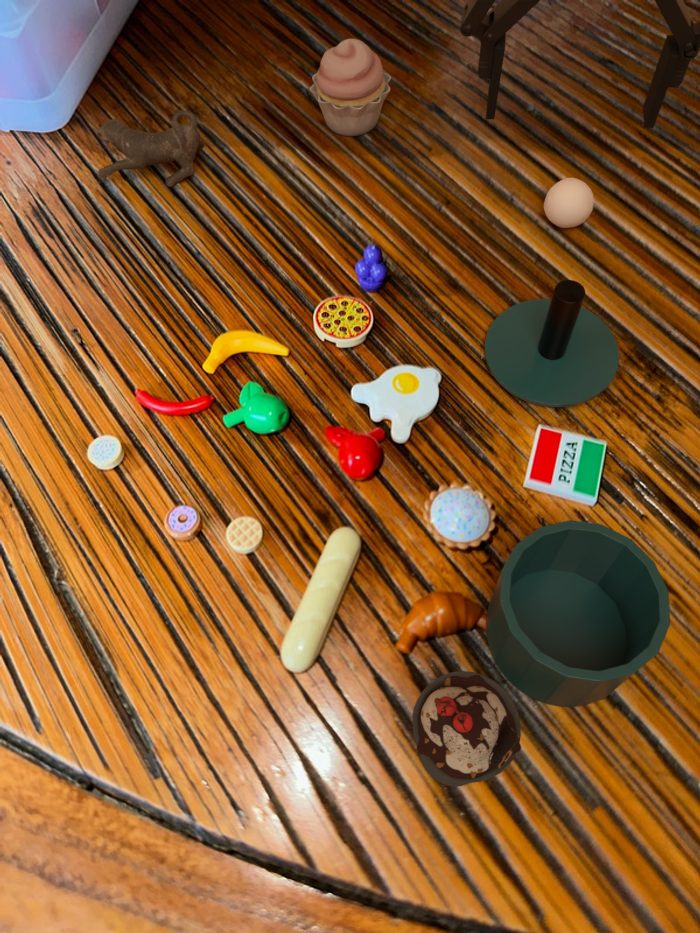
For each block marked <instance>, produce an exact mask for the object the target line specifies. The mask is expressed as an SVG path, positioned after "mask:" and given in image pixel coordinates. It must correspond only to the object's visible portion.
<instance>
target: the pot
mask: <svg viewBox="0 0 700 933" xmlns="http://www.w3.org/2000/svg"><path fill="white" fill-rule="evenodd" d="M669 593H670V592H669V589H668V588H667V586H666V583H665V581H664V579H663V576H662V575H661V573H660V571H659V568H658V567H657V565H656V563H655V561H654V560H653V559H652V558H651V556H649V555H648V554H647V553H646V552H645V551H644V550H643V549H642V548H641V547H640V546H639V545H638V544H637V543H636V542H635V541H634V540H633V539H632V538H630V537H628V536H626V535H625V534H622V533H620V532H618V531H616V530H614V529H612V528H610V527H608V526H605V525H604V524H601V523H595V522H589V521H587V522H586V521H580V520H571V519H569V520H564V521H560V522H556V523H552V524H548V525H544V526H540V527H538V528H536V529H535V530H533V531H532V532H531V533H530V534H528V535H527V536H525V537H524V538H523V539H522V540H520V541H519V542H517V543H516V544H515V545H514V547H513V548H512V550H511V552H510V554H509V555H508V558H507V560H506V562H505V564H504V565H503V567H502V569H501V571H500V575H499V576H498V580H497V581H496V585H495V587H494V590H493V592H492V595H491V598H490V601H489V602H488V605H487V614H486V620H485V634H486V635H485V636H486V642H487V646H488V649H489V652H490V654H491V656H492V659H493V661H494V663H495V664H496V667H497V668H498V669H499V671H500V672H501V673H502V675H503V676H504V677H505V679H506V680H507V681H508V682H509V683H510V684H511V685H512V686H514V688H516V689H517V690H518V691H519V692H521V693H522V694H524V695H526V696H527V697H529V698H531V699H533V700H535V701H537V702H540V703H543V704H545V705H546V704H547V705H550V706H555V707H563V708H576V707H583V706H587V705H591V704H593V703H597V702H600V701H602V700H605V699H606V698H607V697H608V696H610V695H611V694H612V693H613V692H614V691H615V690H616V689H617V688H619V687H620V686H621V685H622V684H624V683H625V682H626V681H627V680H629V679H630V678H631V677H632V676H633V675H634V674H635V673H637V672H638V671H639V670H640V669H641V668H642V667H643V666H645V665H646V664H647V663H649V662H650V661H651V660H652V659H653V658H654V657H655V656H657V655H658V654H659V652H660V650H661V647H662V645H663V643H664V640H665V638H666V635H667V633H668V631H669V628H670V626H671V615H670V613H671V612H670V594H669Z"/></svg>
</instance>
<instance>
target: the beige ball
mask: <svg viewBox="0 0 700 933" xmlns="http://www.w3.org/2000/svg"><path fill="white" fill-rule="evenodd" d="M594 200H595V198H594V193H593V190H592V189H591V188H590V186H589V185H588V184H587V183H585V182H584V181H583V180H581V179H579V178H576V177H566V178H563V179H561V180H559V181H558V182H556V183H555V184H554V185H552V186H551V187H550V188H549V190H548V191H547V192H546V196H545V198H544V202H543V211H544V213H545V216H546V218H547V219H548V221H550V222H551V223H552V224H553V225H555V226H556V227H558V228H561V229H570V228H575V227H578V226H580V225H582V224H583V223H584V222H585V221H586V220H588V218H589V217H590V215H591V214H592V212H593V210H594V203H595V201H594Z"/></svg>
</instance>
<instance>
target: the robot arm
mask: <svg viewBox="0 0 700 933" xmlns="http://www.w3.org/2000/svg"><path fill="white" fill-rule="evenodd" d="M540 1H541V0H500V1H499V2H498V3H497V4H496V5H495V6H494V7H492V6H493V5H494V3H495V2H496V0H467V1H466V3H465V4H464V6H463V8H462V9H461V21H460V33H461V35H463V37H467V38H468V37H469V38H470V37H471V36H473V37H474V38H477V39H478V41H479V42H480V47H479V56H478V65H477V66H478V67H477V75H478V77H479V78H478V79H483V80H489V81H488V90H487V96H486V108H485V120H495V117H496V113H497V112H496V111H497V104H498V98H499V92H500V84H501V78H502V70H503V65H504V58H505V53H506V52H505V51H506V39H507V33H508V31H510V30H511V29H512V28H513V27H514V26H516V24H517V23H518V22H519V21H520V20H522V19H523V17H525V16H526V15H527V14H528V13H529V12H530V11H531V10H532V9H534V7H535V6H536V5H537V4H538V3H540ZM654 2H655V4H656V5H657V7H658V9H659V11H660V13H661V15H662V17H663V19H664V21H665V23H666V24H667V26H668V29H669V30H670V32H671V34H667V35H666V37H665V40H664V42H663V46H662V48H661V52H660V54H659V55H660V56H659V58H658V61H657V64H656V67H655V70H654V72H653V76H652V78H651V82H650V84H649V87H648V91H647V94H646V96H645V98H644V102H643V105H642V114H643V115H642V116H643V127H644V128H645V129H654V127H655V125H656V122H657V119H658V116H659V113H660V111H661V108H662V105H663V102H664V99H665V97H666V94H667V91H668V89H669V88H673V89H674V88H676V89H677V88H679V87H680V86H681V85H682V83H683V82H684V78H685V77H686V74H687V70H688V69H689V65H690V63H691V60H693V59H695V58H696V57H698V55H699V52H700V50H699V49H700V21H697V22H694V19H693V17H692V15H691V13H690V12H689V9H688V7H687V5H686V4H685V1H684V0H654Z"/></svg>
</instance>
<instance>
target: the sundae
mask: <svg viewBox="0 0 700 933" xmlns="http://www.w3.org/2000/svg"><path fill="white" fill-rule="evenodd" d="M411 718H412V732H413V738H414V740H415V744H416V750H417V753H418V755H419V758H420V761H421V764H422V766H423V768H424V770H425V771H426V773H427V774H428V775H429V777H431V778H432V779H433V780H434V781H435V782H437V783H440V784H441V785H444V786H447V787H463V786H466V785H469V784H473V783H482V782H484V781H487V780H489V779H492V778H494V777H496V776H498V775H500V774H501V773H502V772H504V770H505V769H506V768H508V766H510V764H512V762H513V761H514V759H515V757H516V755H517V753H519V752H520V751H521V749H522V746H521V736H522V730H521V729H522V727H521V720H520V714H519V711H518V709H517V707H516V704H515V702H514V701H513V699H512V696H511V695H510V694H509V693H508V692H507V691H506V690H505V689H504V687H503V686H501V685H500V684H498V682H497V681H495V680H494V679H492V678H490V677H488V676H485V675H483V674H481V673H477V672H474V671H468V670H456V671H450V672H448V673H444V674H442V675H441V676H439V677H436V678H435V679H433V680H432V681H431V682H430V683H429V684H427V686H426V687H425V688H424V689H423V690H422V691H421V692H420V694H419V695H418V697H417V699H416V702H415V704H414V706H413V712H412V715H411Z"/></svg>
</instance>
